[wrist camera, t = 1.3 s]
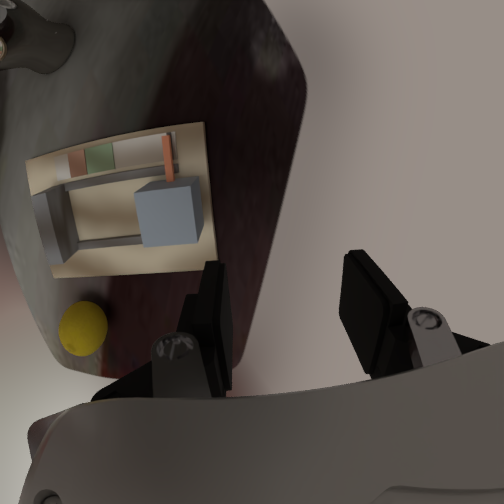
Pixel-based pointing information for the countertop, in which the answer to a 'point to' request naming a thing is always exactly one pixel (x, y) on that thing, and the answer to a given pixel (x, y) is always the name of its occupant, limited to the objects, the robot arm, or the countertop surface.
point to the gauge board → (116, 203)
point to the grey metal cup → (32, 39)
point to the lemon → (83, 328)
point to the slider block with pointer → (170, 207)
